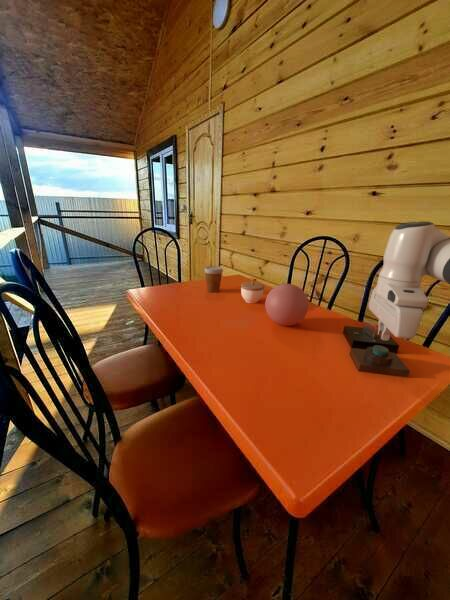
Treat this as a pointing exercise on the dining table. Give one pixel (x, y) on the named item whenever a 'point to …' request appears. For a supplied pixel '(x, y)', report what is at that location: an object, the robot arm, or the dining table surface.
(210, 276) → the disposable coffee cup
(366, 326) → the knob
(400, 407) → the dining table surface
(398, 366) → the button block
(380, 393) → the dining table surface
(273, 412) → the dining table surface
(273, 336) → the dining table surface
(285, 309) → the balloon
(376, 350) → the button
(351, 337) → the panel
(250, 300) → the trinket box
